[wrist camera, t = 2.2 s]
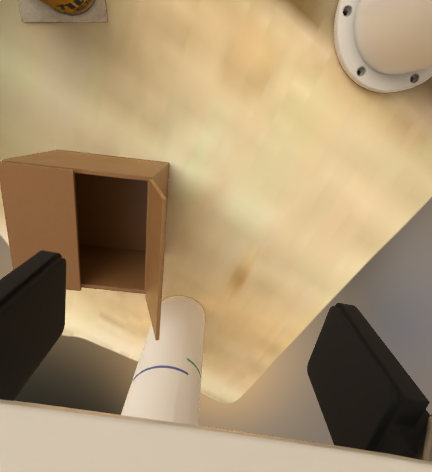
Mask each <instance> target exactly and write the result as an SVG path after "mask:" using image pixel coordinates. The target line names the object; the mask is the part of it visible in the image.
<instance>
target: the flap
mask: <svg viewBox="0 0 432 472" xmlns="http://www.w3.org/2000/svg"><path fill="white" fill-rule="evenodd" d="M166 209H167V199H166V197H165V196H164V195H163V193H162V192H161V190H160V189H159V187H158V186H157V185H156V183H155V182H154V180H153V179H150V180H149V210H148V241H147V272H146V301H147V305H148V309H149V314H150V318H151V322H152V327H153V331H154V335H155V340H159V336H160V318H161V300H162V282H163V264H164V245H165V227H166Z"/></svg>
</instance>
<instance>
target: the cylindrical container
mask: <svg viewBox="0 0 432 472" xmlns="http://www.w3.org/2000/svg"><path fill="white" fill-rule="evenodd" d="M204 329H205V313H204V310H203V308H202V307H201V305H200V304H199V303H198V302H196V301H195V300H193V299H192V298H189V297H185V296H172V297H169V298H166V299H165V300H163V301H162V302H161V318H160V336H159V340H155V335H154V331H153V327H152V323H151V326H150V329H149V332H148V335H147V338H146V341H145V344H144V347H143V350H142V353H141V356H140V359H139V362H138V365H137V368H136V371H135V374H134V377H133V380H132V383H131V386H130V389H129V392H128V395H127V398H126V401H125V405H124V408H123V411H122V413H121V415H125V416H132V417H140V418H147V419H154V420H161V421H168V422H176V423H183V424H190V425H197V426H198V418H199V402H200V387H201V372H202V358H203V344H204Z"/></svg>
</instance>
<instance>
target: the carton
mask: <svg viewBox="0 0 432 472" xmlns="http://www.w3.org/2000/svg"><path fill="white" fill-rule="evenodd" d="M168 175H169V163H167V162H158V161H150V160H141V159H132V158H124V157H115V156H107V155H98V154H89V153H81V152H72V151H64V150H54V151H48V152H43V153H37V154H32V155H27V156H21V157H16V158H10V159H5V160H2V162H0V185H1V192H2V199H3V205H4V212H5V219H6V225H7V232H8V239H9V245H10V251H11V258H12V265H13V270H14V269H16V268H17V267H19V266H20V265H21V264H23V263H24V262H25V261H27V260H28V259H30V258H31V257H32V256H34V255H35V254H36V253H38V252H39V251H41V250H44V251H50V252H55V253H60V254H61V256H62V258H65V259H66V289H67V290H77V291H80V290H81V287H84V288H94V289H104V290H113V291H123V292H133V293H143V294H146V272H147V241H148V210H149V180H150V179H153V180H154V182H155V183H156V185H157V186H158V187H159V189H160V190H161V192H162V193H163V195H164V196H165V197H166V199H167V193H168ZM166 211H167V209H166ZM165 229H166V227H165ZM164 247H165V245H164Z"/></svg>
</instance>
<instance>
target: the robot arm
mask: <svg viewBox="0 0 432 472" xmlns="http://www.w3.org/2000/svg"><path fill="white" fill-rule="evenodd" d="M343 11H345V12H346V16H344V15H343ZM334 45H335V49H336V53H337V57H338V59H339V61H340V64H341V66H342V68H343V69H344V71H345V72H346V73H347V75H348V76H349V77H350V78H351V79H352V80H353V81H354V82H355V83H357V84H358V85H359V86H361V87H363V88H365V89H367V90H371V91H375V92H380V93H391V92H398V91H403V90H406V89H410V88H413V87H415V86H417V85H419V84H421V83H423V82H425V81H426V80H428V79H429V78H431V77H432V0H339V3H338V7H337V11H336V15H335V21H334ZM357 70H359V71H360V74H359V75H358V74H357ZM410 77H411V81H410ZM65 296H66V259H65V258H62V256H61V254H60V253H55V252H50V251H44V250H41V251H39V252H38V253H36V254H35V255H34V256H32V257H31V258H30V259H28V260H27V261H25V262H24V263H23V264H21V265H20V266H19V267H17V268H16V269H14V270H13V271H12V272H11V273H9V274H8V275H6V276H5V277H3V278H2V279H1V280H0V472H432V415H429V413H428V412H427V411H426V407H427V406H428V404H429V401H428V400H427V399H426V397H425V396H424V395H423V393H422V392H421V391H420V389H419V388H418V387H417V386H416V384H415V383H414V381H413V380H412V379H411V378H410V376H409V375H408V374H407V372H406V371H405V370H404V368H403V367H402V366H401V365H400V363H399V362H398V361H397V359H396V358H395V357H394V355H393V354H392V353H391V352H390V350H389V349H388V348H387V346H386V345H385V344H384V342H383V341H382V340H381V339H380V337H379V336H378V335H377V334H376V332H375V331H374V329H373V328H372V327H371V326H370V324H369V323H368V322H367V320H366V319H365V318H364V316H363V315H362V314H361V313H360V311H359V310H358V309H357V308H356V307H355V306H353V305H347V304H342V303H337V304H336V305H335V306H332V307H331V308H330V310H329V312H328V314H327V317H326V320H325V323H324V325H323V327H322V330H321V332H320V335H319V337H318V340H317V342H316V345H315V347H314V350H313V352H312V355H311V357H310V360H309V362H308V366H307V371H308V376H309V378H310V381H311V384H312V386H313V389H314V392H315V394H316V397H317V400H318V402H319V405H320V408H321V410H322V413H323V416H324V419H325V421H326V423H327V426H328V429H329V432H330V435H331V437H332V440H333V443H334V445H328V444H322V443H315V442H308V441H301V440H294V439H288V438H281V437H274V436H267V435H261V434H254V433H247V432H240V431H232V430H225V429H218V428H211V427H204V426H197V425H190V424H183V423H176V422H168V421H161V420H154V419H147V418H140V417H132V416H125V415H116V414H109V413H102V412H95V411H87V410H80V409H72V408H64V407H57V406H50V405H42V404H34V403H26V402H18V401H13V400H14V399H15V397H16V396H17V395H18V393H19V392H20V391H21V389H22V388H23V387H24V385H25V384H26V382H27V381H28V380H29V378H30V377H31V375H32V374H33V373H34V371H35V370H36V369H37V367H38V366H39V365H40V363H41V362H42V360H43V359H44V358H45V356H46V355H47V353H48V352H49V351H50V349H51V348H52V347H53V345H54V344H55V342H56V341H57V340H58V338H59V337H60V336H61V334H62V332H63V329H64V325H65Z"/></svg>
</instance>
